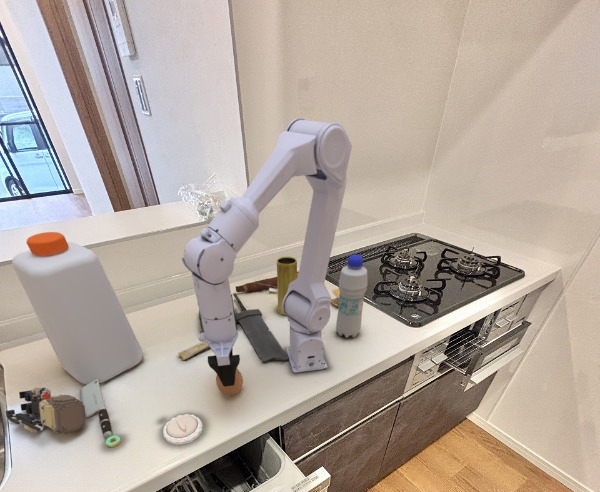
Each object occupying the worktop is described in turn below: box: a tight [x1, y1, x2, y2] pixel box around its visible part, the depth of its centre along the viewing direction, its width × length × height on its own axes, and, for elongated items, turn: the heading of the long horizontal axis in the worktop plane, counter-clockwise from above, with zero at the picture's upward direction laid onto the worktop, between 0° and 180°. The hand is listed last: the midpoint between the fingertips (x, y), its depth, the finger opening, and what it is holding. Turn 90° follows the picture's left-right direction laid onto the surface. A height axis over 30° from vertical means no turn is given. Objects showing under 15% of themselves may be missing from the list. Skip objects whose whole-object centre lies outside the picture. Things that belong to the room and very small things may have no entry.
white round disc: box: [162, 413, 204, 446], centre depth 66 cm, size 7×7×2 cm
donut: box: [105, 434, 122, 448], centre depth 66 cm, size 2×10×1 cm, turn 121°
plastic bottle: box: [11, 231, 144, 385], centre depth 72 cm, size 15×15×28 cm
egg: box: [215, 368, 244, 396], centre depth 71 cm, size 5×5×7 cm
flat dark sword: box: [232, 292, 289, 363], centre depth 92 cm, size 7×35×2 cm, turn 24°
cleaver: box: [79, 379, 113, 439], centre depth 69 cm, size 17×1×5 cm
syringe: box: [259, 283, 278, 294], centre depth 107 cm, size 10×2×2 cm
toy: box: [5, 386, 87, 435], centre depth 65 cm, size 7×8×15 cm
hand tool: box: [235, 270, 299, 293], centre depth 109 cm, size 26×3×4 cm, turn 113°
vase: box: [276, 256, 298, 316], centre depth 94 cm, size 6×6×14 cm
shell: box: [330, 288, 340, 307], centre depth 100 cm, size 8×4×5 cm
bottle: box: [335, 254, 369, 339], centre depth 84 cm, size 7×7×20 cm
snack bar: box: [177, 341, 210, 361], centre depth 85 cm, size 10×2×3 cm
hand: (227, 372), depth 70 cm, fingers open, 7 cm apart
